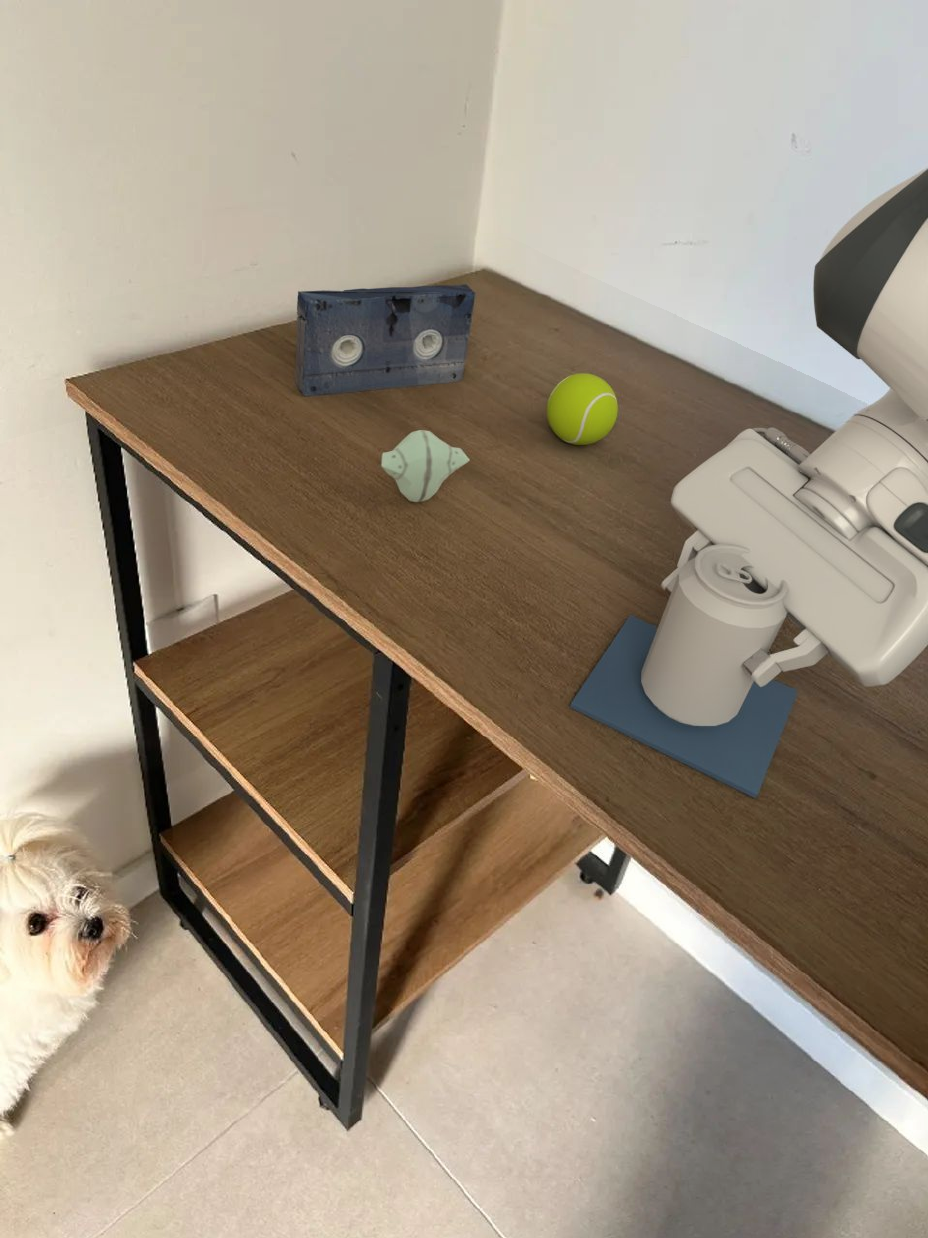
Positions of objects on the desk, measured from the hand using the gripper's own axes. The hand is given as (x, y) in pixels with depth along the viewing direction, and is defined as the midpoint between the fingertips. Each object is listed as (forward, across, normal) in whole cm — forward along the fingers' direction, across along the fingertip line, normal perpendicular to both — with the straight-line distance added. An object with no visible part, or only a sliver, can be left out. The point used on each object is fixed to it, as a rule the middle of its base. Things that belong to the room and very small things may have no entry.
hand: (708, 635), depth 64 cm
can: (+4, 0, +5) cm, 7 cm away
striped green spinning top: (+10, -29, 0) cm, 31 cm away
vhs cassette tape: (+6, -50, +4) cm, 50 cm away
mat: (+4, 0, +5) cm, 7 cm away
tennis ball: (-5, -34, +15) cm, 37 cm away
